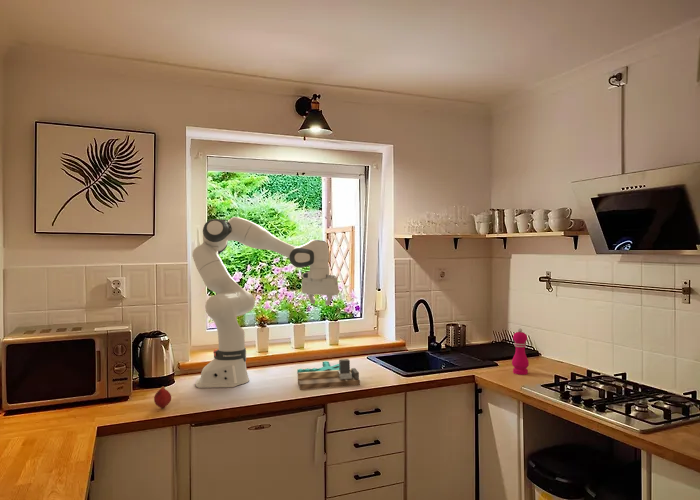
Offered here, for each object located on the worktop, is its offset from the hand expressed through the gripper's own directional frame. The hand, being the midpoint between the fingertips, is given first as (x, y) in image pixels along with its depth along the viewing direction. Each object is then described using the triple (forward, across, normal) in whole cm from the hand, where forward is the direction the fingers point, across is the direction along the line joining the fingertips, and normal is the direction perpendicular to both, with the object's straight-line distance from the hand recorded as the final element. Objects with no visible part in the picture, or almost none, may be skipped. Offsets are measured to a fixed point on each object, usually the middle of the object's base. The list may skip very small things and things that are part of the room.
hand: (320, 304), depth 240 cm
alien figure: (+32, -3, -1) cm, 32 cm away
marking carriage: (+29, -21, +9) cm, 37 cm away
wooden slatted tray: (+31, -17, +14) cm, 38 cm away
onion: (+31, +12, +74) cm, 81 cm away
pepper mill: (+31, -76, -49) cm, 95 cm away
